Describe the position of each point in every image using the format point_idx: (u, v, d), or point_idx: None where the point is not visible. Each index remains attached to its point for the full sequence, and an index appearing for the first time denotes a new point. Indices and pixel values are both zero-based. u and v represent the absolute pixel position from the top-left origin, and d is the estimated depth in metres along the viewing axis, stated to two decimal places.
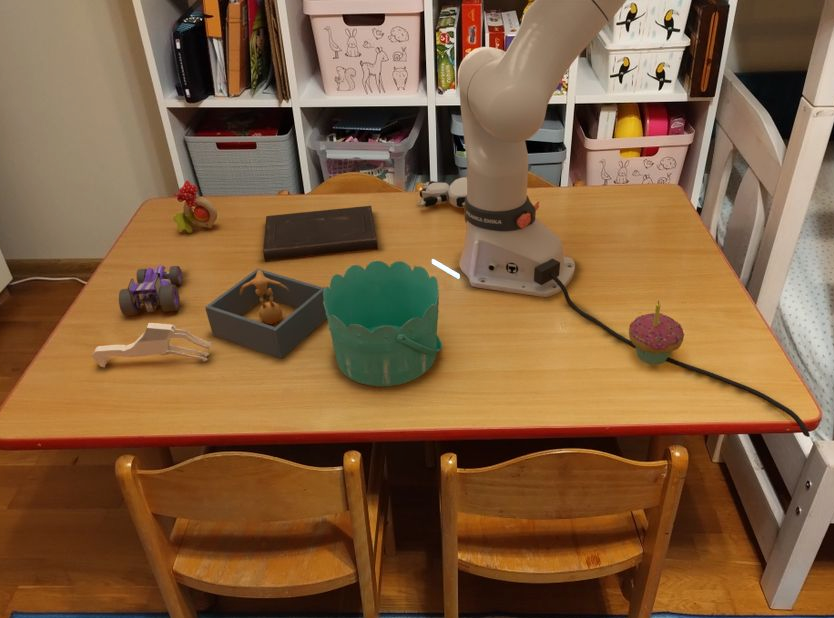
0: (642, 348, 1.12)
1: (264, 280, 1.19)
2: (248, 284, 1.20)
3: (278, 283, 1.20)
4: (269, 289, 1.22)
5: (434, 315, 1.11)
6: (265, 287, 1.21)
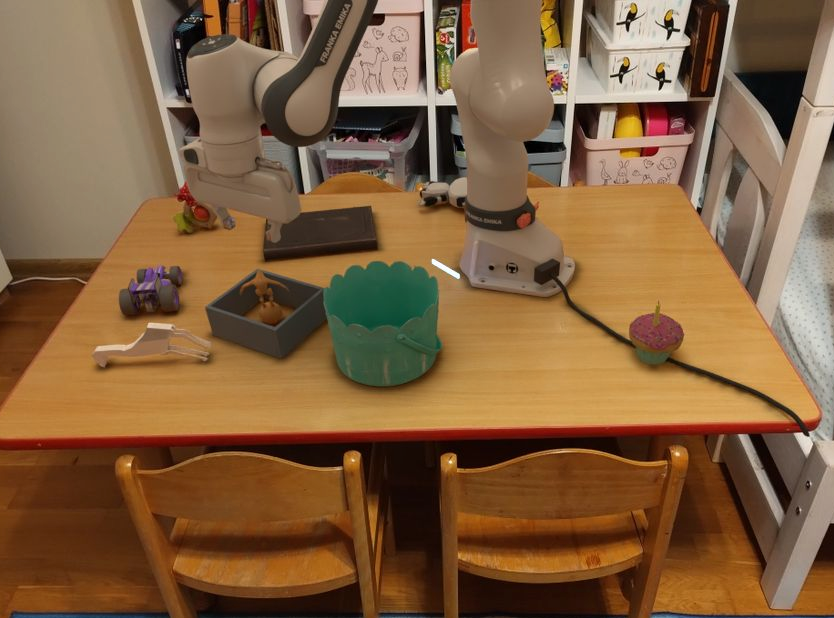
0: (642, 348, 1.12)
1: (264, 280, 1.19)
2: (248, 284, 1.20)
3: (278, 283, 1.20)
4: (269, 289, 1.22)
5: (434, 315, 1.11)
6: (265, 287, 1.21)
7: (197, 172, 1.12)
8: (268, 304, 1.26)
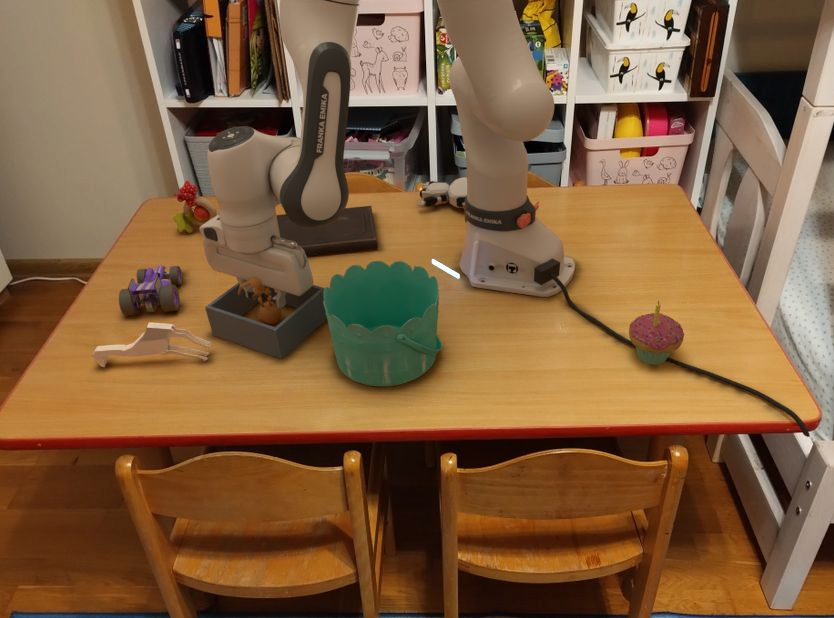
0: (642, 348, 1.12)
1: None
2: (245, 284, 1.20)
3: None
4: (267, 288, 1.22)
5: (434, 315, 1.11)
6: (263, 287, 1.21)
7: (216, 246, 1.20)
8: (267, 304, 1.26)
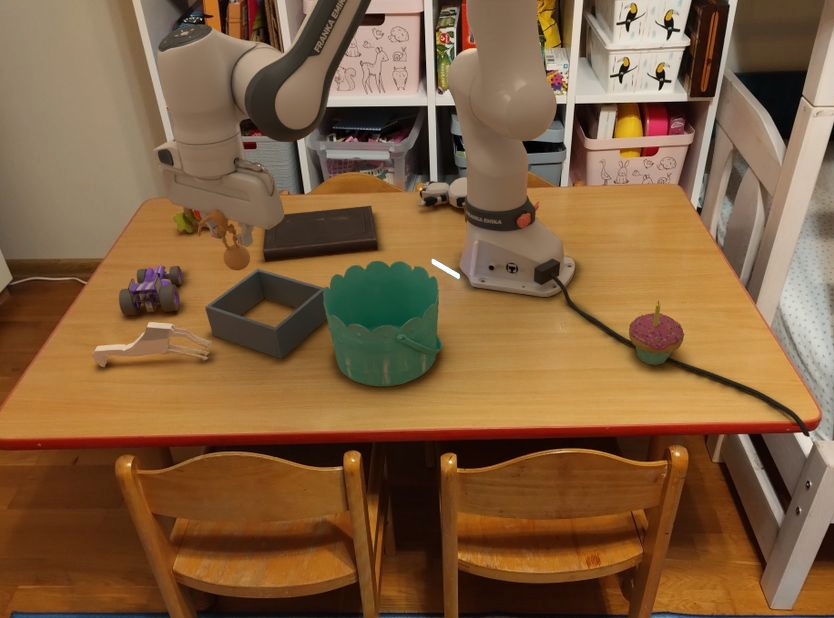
0: (642, 348, 1.12)
1: None
2: (205, 219, 1.04)
3: None
4: (231, 225, 1.06)
5: (434, 315, 1.11)
6: (226, 222, 1.05)
7: (173, 174, 1.04)
8: (233, 246, 1.10)
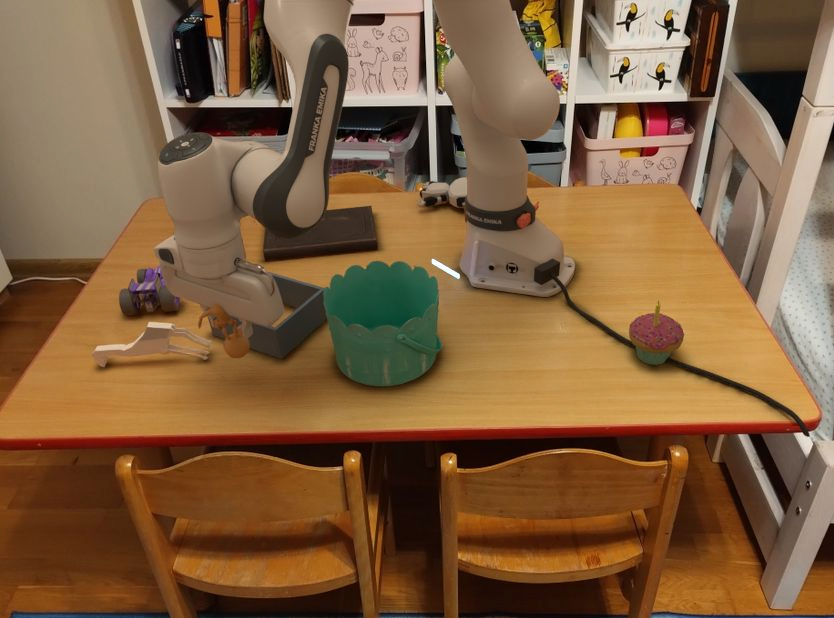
0: (642, 348, 1.12)
1: None
2: (206, 314, 1.05)
3: None
4: (231, 317, 1.07)
5: (434, 315, 1.11)
6: (226, 316, 1.06)
7: (174, 269, 1.05)
8: (233, 336, 1.11)
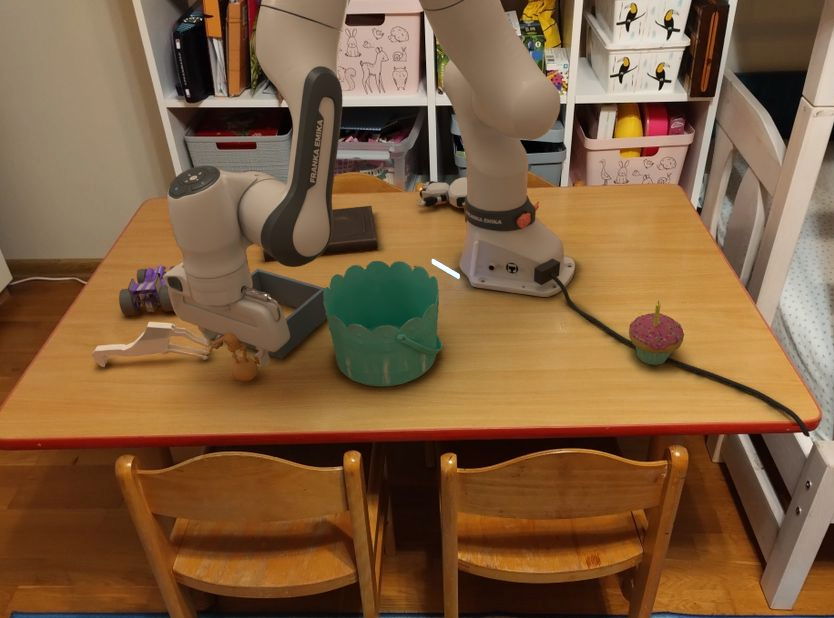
0: (642, 348, 1.12)
1: None
2: (219, 341, 1.08)
3: None
4: (243, 344, 1.10)
5: (434, 315, 1.11)
6: (239, 343, 1.09)
7: (182, 296, 1.08)
8: (241, 359, 1.14)
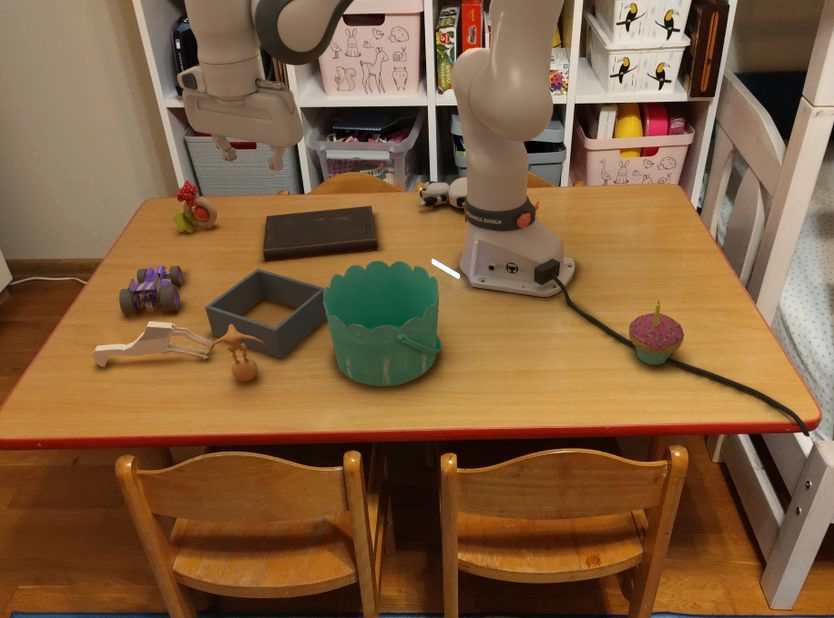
0: (642, 348, 1.12)
1: (237, 336, 1.07)
2: (219, 341, 1.08)
3: (253, 338, 1.08)
4: (243, 344, 1.10)
5: (434, 315, 1.11)
6: (239, 343, 1.09)
7: (196, 100, 1.09)
8: (241, 359, 1.14)
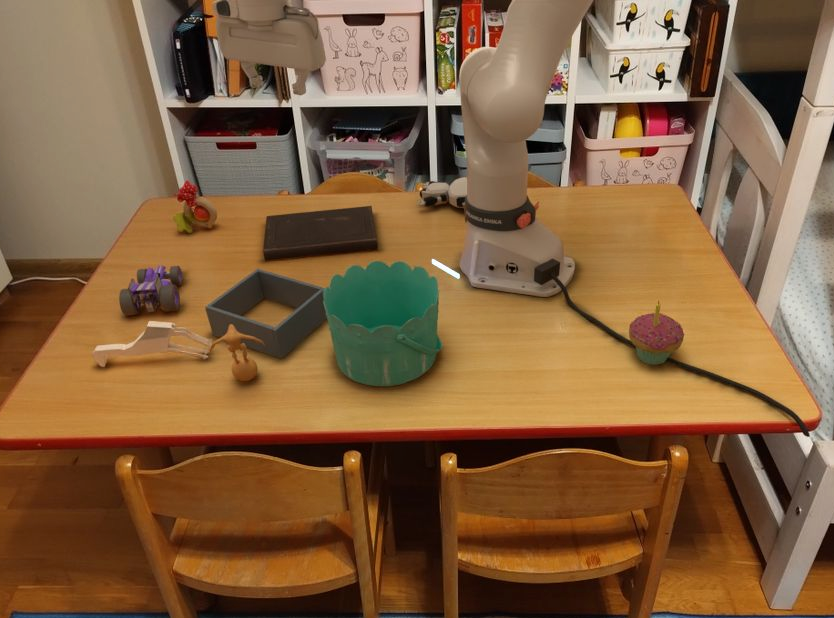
0: (642, 348, 1.12)
1: (237, 336, 1.07)
2: (219, 341, 1.08)
3: (253, 338, 1.08)
4: (243, 344, 1.10)
5: (434, 315, 1.11)
6: (239, 343, 1.09)
7: (228, 27, 1.20)
8: (241, 359, 1.14)
